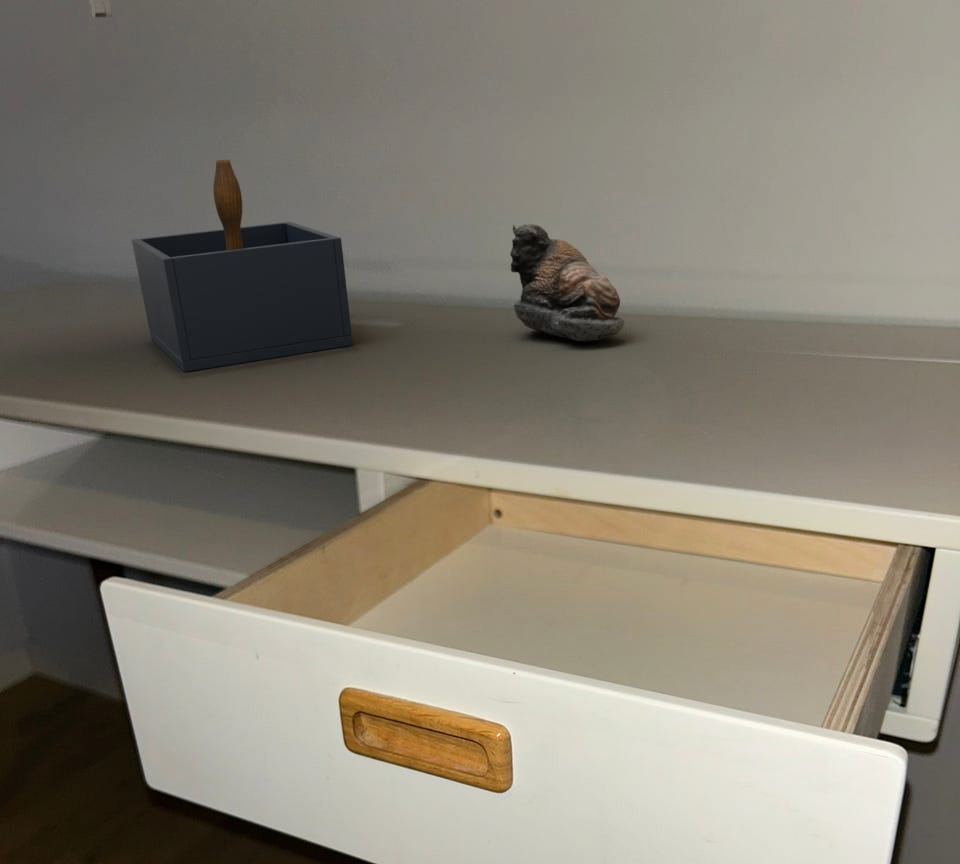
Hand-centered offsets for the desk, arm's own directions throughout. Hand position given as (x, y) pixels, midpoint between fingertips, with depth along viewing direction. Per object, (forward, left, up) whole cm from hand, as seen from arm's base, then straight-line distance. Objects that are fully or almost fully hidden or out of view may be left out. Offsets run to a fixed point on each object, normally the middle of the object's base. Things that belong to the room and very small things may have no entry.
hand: (47, 19), depth 94 cm
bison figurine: (+38, -23, -29) cm, 54 cm away
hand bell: (+12, -4, -28) cm, 31 cm away
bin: (+12, -4, -29) cm, 32 cm away
